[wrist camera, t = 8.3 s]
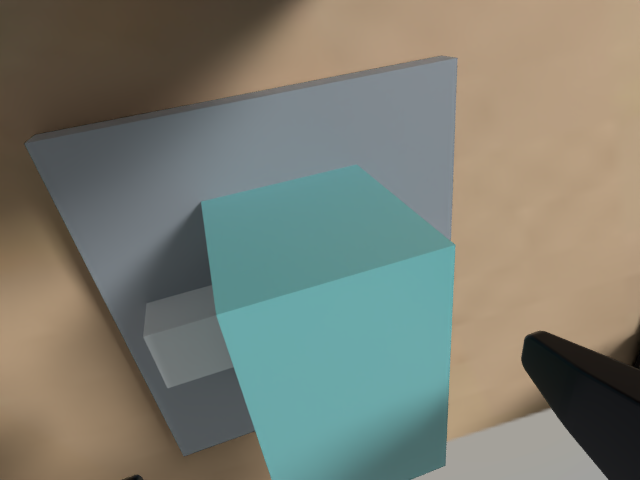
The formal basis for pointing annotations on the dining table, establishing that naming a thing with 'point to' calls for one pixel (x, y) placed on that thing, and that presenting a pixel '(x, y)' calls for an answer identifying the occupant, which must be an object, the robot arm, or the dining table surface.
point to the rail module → (335, 325)
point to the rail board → (221, 180)
